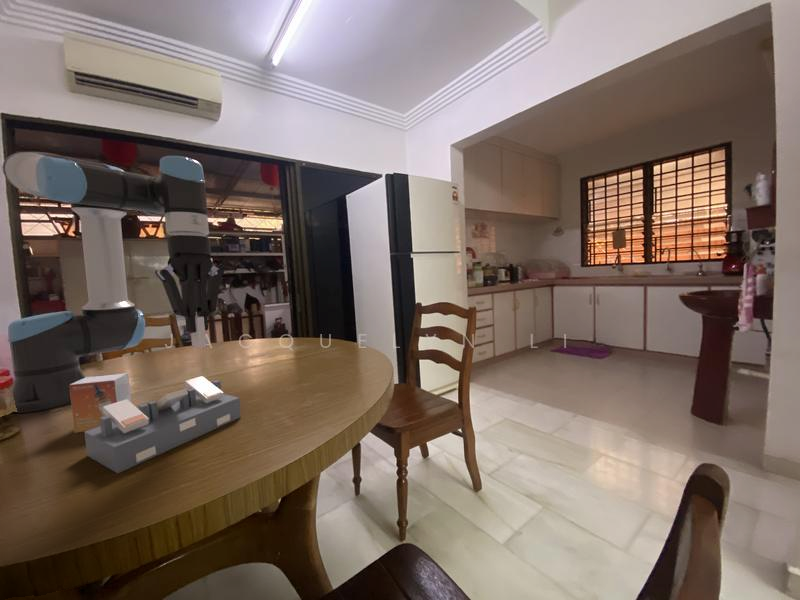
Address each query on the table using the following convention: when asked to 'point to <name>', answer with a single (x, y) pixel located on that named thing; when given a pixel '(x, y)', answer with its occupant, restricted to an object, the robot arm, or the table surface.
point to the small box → (96, 398)
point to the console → (159, 430)
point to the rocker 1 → (125, 415)
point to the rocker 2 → (171, 399)
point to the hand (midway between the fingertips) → (199, 346)
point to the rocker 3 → (204, 389)
